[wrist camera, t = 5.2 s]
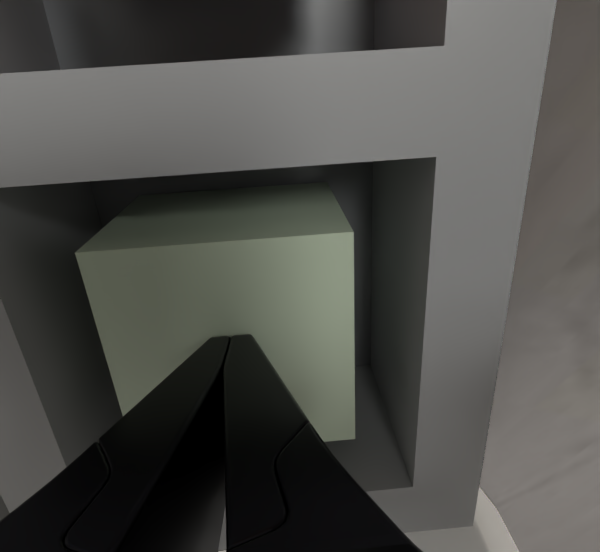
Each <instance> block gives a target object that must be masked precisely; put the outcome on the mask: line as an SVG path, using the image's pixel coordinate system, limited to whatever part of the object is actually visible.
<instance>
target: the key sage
mask: <svg viewBox="0 0 600 552" xmlns="http://www.w3.org/2000/svg"><path fill="white" fill-rule="evenodd" d="M75 255H76V259H77V262H78V265H79V269H80V272H81V276H82V279H83V282H84V286H85V289H86V293H87V296H88V299H89V303H90V306H91V310H92V313H93V316H94V320H95V323H96V327H97V330H98V333H99V337H100V340H101V344H102V347H103V350H104V354H105V357H106V361H107V364H108V367H109V371H110V374H111V378H112V381H113V384H114V388H115V391H116V395H117V398H118V401H119V405H120V408H121V412H122V415H123V416H124V415H125V414H126V413H127V412H128V411H130V410H131V409H132V408H133V407H134V406H135V405H136V404H137V403H138V402H140V401H141V400H142V399H143V398H144V397H145V396H146V395H147V394H148V393H149V392H151V391H152V390H153V389H154V388H155V387H156V386H157V385H158V384H159V383H161V382H162V381H163V380H164V379H165V378H166V377H167V376H168V375H169V374H170V373H172V372H173V371H174V370H175V369H176V368H177V367H178V366H179V365H180V364H182V363H183V362H184V361H185V360H186V359H187V358H188V357H189V356H190V355H191V354H193V353H194V352H195V351H196V350H197V349H198V348H199V347H200V346H201V345H203V344H204V343H205V342H206V341H207V340H208V339H209V338H211V337H220V336H229V337H230V338H232V336H234V335H245V334H251V335H252V336H253V337H254V338H255V340H256V341H257V343H258V344H259V346H260V347H261V349H262V350H263V352H264V353H265V355H266V356H267V358H268V359H269V361H270V362H271V364H272V365H273V367H274V368H275V370H276V371H277V373H278V374H279V376H280V377H281V379H282V380H283V382H284V383H285V385H286V386H287V388H288V389H289V391H290V392H291V394H292V395H293V397H294V398H295V400H296V401H297V403H298V404H299V406H300V407H301V409H302V410H303V412H304V414H305V415H306V417H307V418H308V420H309V421H310V423H311V424H312V425H313V427H314V428H315V430H316V431H317V433H318V434H319V436H320V437H321V439H322V440H323V441H324V442H327V441H338V440H349V439H355V341H354V231H353V230H352V228H351V226H350V224H349V222H348V220H347V218H346V217H345V215H344V213H343V211H342V209H341V207H340V205H339V204H338V202H337V200H336V198H335V196H334V194H333V192H332V191H331V189H330V187H329V185H328V183H327V182H319V183H305V184H291V185H277V186H263V187H249V188H235V189H221V190H207V191H194V192H180V193H166V194H152V195H140V196H138V197H137V198H136V199H135V200H134V201H133V202H132V203H131V204H129V205H128V206H127V207H126V208H125V209H124V210H123V211H121V212H120V213H119V214H118V215H117V216H116V217H115V218H114V219H112V220H111V221H110V222H109V223H108V224H107V225H106V226H105V227H103V228H102V229H101V230H100V231H99V232H98V233H97V234H96V235H94V236H93V237H92V238H91V239H90V240H89V241H88V242H86V243H85V244H84V245H83V246H82V247H81V248H80V249H79V250H77V251H76V252H75Z"/></svg>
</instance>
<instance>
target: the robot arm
mask: <svg viewBox="0 0 600 552" xmlns="http://www.w3.org/2000/svg"><path fill="white" fill-rule="evenodd" d="M225 508H226V552H423V551H422V550H421V549H419V548H418V547H417V546H416V545H415V544H414V543H413V542H412V541H411V540H410V539H409V538H408V537H407V536H406V535H405V534H404V533H403V532H402V530H401V529H400V528H399V527H398V526H397V525H396V524H395V523H394V522H393V521H392V520H391V519H390V517H389V516H388V515H387V514H386V513H385V512H384V511H383V510H382V509H381V508H380V507H379V506H378V504H377V503H376V502H375V501H374V500H373V499H372V498H371V497H370V496H369V495H368V494H367V492H366V491H365V490H364V489H363V488H362V487H361V486H360V485H359V484H358V483H357V482H356V481H355V479H354V478H353V477H352V476H351V475H350V474H349V473H348V471H347V470H346V469H345V468H344V467H343V466H342V464H341V463H340V462H339V461H338V460H337V459H336V458H335V456H334V455H333V454H332V452H331V451H330V449H329V448H328V447H327V445H326V444H325V443H324V441H323V440H322V439H321V437H320V436H319V434H318V433H317V431H316V430H315V428H314V427H313V425H312V424H311V423H310V421H309V420H308V418H307V417H306V415H305V414H304V412H303V410H302V409H301V407H300V406H299V404H298V403H297V401H296V400H295V398H294V397H293V395H292V394H291V392H290V391H289V389H288V388H287V386H286V385H285V383H284V382H283V380H282V379H281V377H280V376H279V374H278V373H277V371H276V370H275V368H274V367H273V365H272V364H271V362H270V361H269V359H268V358H267V356H266V355H265V353H264V352H263V350H262V349H261V347H260V346H259V344H258V343H257V341H256V340H255V338H254V337H253V336H252V335H251V334H245V335H234V336H232V338H230V337H229V336H220V337H211V338H209V339H208V340H207V341H206V342H205V343H204V344H203V345H201V346H200V347H199V348H198V349H197V350H196V351H195V352H194V353H193V354H191V355H190V356H189V357H188V358H187V359H186V360H185V361H184V362H183V363H182V364H180V365H179V366H178V367H177V368H176V369H175V370H174V371H173V372H172V373H170V374H169V375H168V376H167V377H166V378H165V379H164V380H163V381H162V382H161V383H159V384H158V385H157V386H156V387H155V388H154V389H153V390H152V391H151V392H149V393H148V394H147V395H146V396H145V397H144V398H143V399H142V400H141V401H140V402H138V403H137V404H136V405H135V406H134V407H133V408H132V409H131V410H130V411H128V412H127V413H126V414H125V415H124V416H123V417H122V418H121V419H120V420H118V421H117V422H116V423H115V424H114V425H113V426H112V427H111V428H110V429H109V430H107V431H106V432H105V433H104V434H103V435H102V436H101V437H100V438H99V439H98V442H94V443H93V444H92V445H91V446H90V447H88V448H87V449H86V450H85V451H84V452H83V453H82V454H81V455H80V456H78V457H77V458H76V459H75V460H74V461H73V462H72V463H70V464H69V465H68V466H67V467H66V468H65V469H63V470H62V471H61V472H60V473H59V474H58V475H57V476H55V477H54V478H53V479H52V480H51V481H50V482H48V483H47V484H46V485H45V486H43V487H42V488H41V489H40V490H38V491H37V492H36V493H35V494H33V495H32V496H31V497H30V498H28V499H27V500H26V501H25V502H23V503H22V504H21V505H20V506H18V507H17V508H16V509H15V510H13V511H12V512H11V513H9V514H8V515H7V516H6V517H4V518H3V519H2V520H0V552H218V549H219V543H220V536H221V530H222V524H223V518H224V512H225Z"/></svg>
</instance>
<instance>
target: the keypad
mask: <svg viewBox="0 0 600 552" xmlns="http://www.w3.org/2000/svg"><path fill="white" fill-rule="evenodd" d="M556 3H557V0H0V520H2V519H3V518H4V517H6V516H7V515H8V514H9V513H11V512H12V511H13V510H15V509H16V508H17V507H18V506H20V505H21V504H22V503H23V502H25V501H26V500H27V499H28V498H30V497H31V496H32V495H33V494H35V493H36V492H37V491H38V490H40V489H41V488H42V487H43V486H45V485H46V484H47V483H48V482H50V481H51V480H52V479H53V478H54V477H55V476H57V475H58V474H59V473H60V472H61V471H62V470H63V469H65V468H66V467H67V466H68V465H69V464H70V463H72V462H73V461H74V460H75V459H76V458H77V457H78V456H80V455H81V454H82V453H83V452H84V451H85V450H86V449H87V448H88V447H90V446H91V445H92V444H93V443H94V442H98V439H99V438H100V437H101V436H102V435H103V434H104V433H105V432H106V431H107V430H109V429H110V428H111V427H112V426H113V425H114V424H115V423H116V422H117V421H118V420H120V419H121V418H122V417H123V415H122V412H121V408H120V405H119V401H118V398H117V395H116V391H115V388H114V384H113V381H112V378H111V374H110V371H109V367H108V364H107V361H106V357H105V354H104V350H103V347H102V344H101V340H100V337H99V333H98V330H97V327H96V323H95V320H94V316H93V313H92V310H91V306H90V303H89V299H88V296H87V293H86V289H85V286H84V282H83V279H82V276H81V272H80V269H79V265H78V262H77V259H76V255H75V252H76V251H77V250H79V249H80V248H81V247H82V246H83V245H84V244H85V243H86V242H88V241H89V240H90V239H91V238H92V237H93V236H94V235H96V234H97V233H98V232H99V231H100V230H101V229H102V228H103V227H105V226H106V225H107V224H108V223H109V222H110V221H111V220H112V219H114V218H115V217H116V216H117V215H118V214H119V213H120V212H121V211H123V210H124V209H125V208H126V207H127V206H128V205H129V204H131V203H132V202H133V201H134V200H135V199H136V198H137V197H138V196H140V195H152V194H166V193H180V192H194V191H207V190H221V189H235V188H249V187H263V186H277V185H291V184H305V183H319V182H327V183H328V185H329V187H330V189H331V191H332V192H333V194H334V196H335V198H336V200H337V202H338V204H339V205H340V207H341V209H342V211H343V213H344V215H345V217H346V218H347V220H348V222H349V224H350V226H351V228H352V230H353V231H354V341H355V439H349V440H338V441H327V442H324V443H325V444H326V445H327V447H328V448H329V449H330V451H331V452H332V454H333V455H334V456H335V458H336V459H337V460H338V461H339V462H340V463H341V464H342V466H343V467H344V468H345V469H346V470H347V471H348V473H349V474H350V475H351V476H352V477H353V478H354V479H355V481H356V482H357V483H358V484H359V485H360V486H361V487H362V488H363V489H364V490H365V491H366V492H367V494H368V495H369V496H370V497H371V498H372V499H373V500H374V501H375V502H376V503H377V504H378V506H379V507H380V508H381V509H382V510H383V511H384V512H385V513H386V514H387V515H388V516H389V517H390V519H391V520H392V521H393V522H394V523H395V524H396V525H397V526H398V527H399V528H400V529H401V530H402V532H403V533H408V532H419V531H429V530H439V529H450V528H460V527H470V526H473V522H474V516H475V510H476V504H477V497H478V491H479V485H480V479H481V472H482V466H483V460H484V453H485V447H486V441H487V435H488V428H489V422H490V416H491V410H492V403H493V397H494V391H495V385H496V378H497V372H498V366H499V360H500V353H501V347H502V341H503V335H504V328H505V322H506V316H507V309H508V303H509V297H510V291H511V284H512V278H513V272H514V266H515V259H516V253H517V247H518V241H519V234H520V228H521V222H522V216H523V209H524V203H525V197H526V190H527V184H528V178H529V172H530V165H531V159H532V153H533V147H534V140H535V134H536V128H537V122H538V115H539V109H540V103H541V97H542V90H543V84H544V78H545V72H546V65H547V59H548V53H549V46H550V40H551V34H552V28H553V21H554V15H555V9H556ZM223 550H226V508H225V512H224V518H223V524H222V530H221V536H220V543H219V549H218V551H223Z"/></svg>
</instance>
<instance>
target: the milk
mask: <svg viewBox="0 0 600 552" xmlns="http://www.w3.org/2000/svg"><path fill="white" fill-rule="evenodd" d="M404 534H405V535H406V536H407V537H408V538H409V539H410V540H411V541H412V542H413V543H414V544H415V545H416V546H417V547H418V548H419V549H421V550H422V551H423V552H519V550H518V548H517V547H516V545H515V543H514V541H513V539H512V537H511V535H510V533H509V531H508V529H507V527H506V526H505V524H504V522H503V520H502V518H501V516H500V514H499V512H498V510H497V509H496V507H495V506H494V505H493V504H492V502H491V501H490V500H489V498H488V497H487V496H486V495H485V493H484V492H483V491H482V490H481V488H480V487H479V491H478V497H477V504H476V510H475V516H474V522H473V526H470V527H460V528H450V529H439V530H429V531H419V532H408V533H404Z"/></svg>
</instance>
